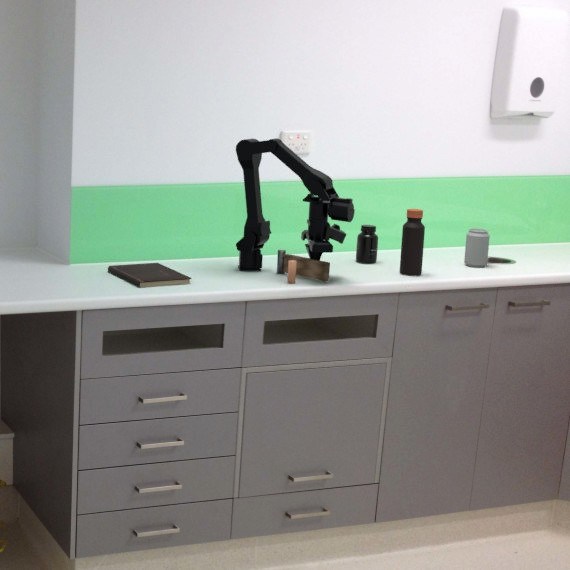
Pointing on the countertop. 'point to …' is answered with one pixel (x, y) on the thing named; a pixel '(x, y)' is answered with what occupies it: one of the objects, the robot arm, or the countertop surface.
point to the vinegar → (412, 244)
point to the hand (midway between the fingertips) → (315, 269)
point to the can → (477, 248)
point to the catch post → (292, 271)
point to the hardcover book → (148, 275)
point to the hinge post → (280, 261)
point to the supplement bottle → (367, 245)
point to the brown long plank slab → (309, 267)
